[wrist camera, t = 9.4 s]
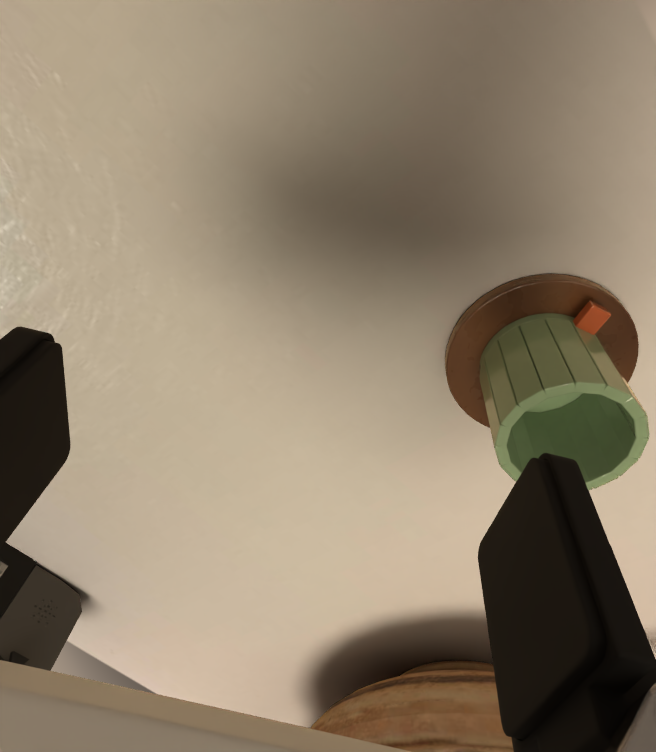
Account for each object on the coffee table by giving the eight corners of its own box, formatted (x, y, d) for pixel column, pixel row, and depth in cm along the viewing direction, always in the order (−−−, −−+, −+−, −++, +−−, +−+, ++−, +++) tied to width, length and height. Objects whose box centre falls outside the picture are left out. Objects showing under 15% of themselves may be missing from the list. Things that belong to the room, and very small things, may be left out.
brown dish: (577, 234, 24) (582, 240, 23) (664, 371, 27) (671, 380, 26) (410, 342, 28) (410, 350, 27) (503, 450, 31) (506, 460, 30)
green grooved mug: (456, 385, 28) (468, 462, 23) (539, 271, 24) (575, 335, 19) (552, 427, 29) (583, 511, 24) (647, 324, 25) (707, 398, 20)
